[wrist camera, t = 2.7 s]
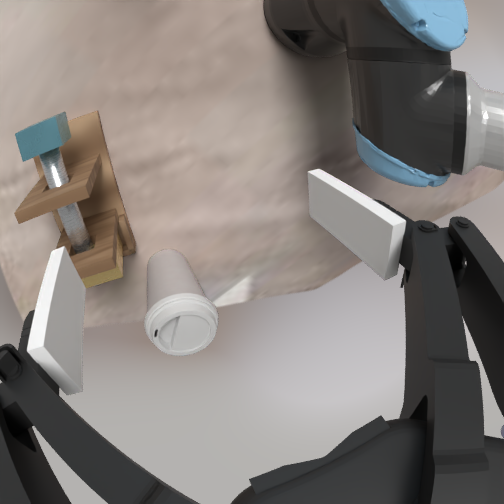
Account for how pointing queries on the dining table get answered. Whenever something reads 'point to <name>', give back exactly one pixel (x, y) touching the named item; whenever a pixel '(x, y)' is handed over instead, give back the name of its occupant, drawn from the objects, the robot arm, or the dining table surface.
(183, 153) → the dining table surface
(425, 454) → the robot arm
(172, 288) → the coffee cup
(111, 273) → the tan wooden piece
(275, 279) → the dining table surface
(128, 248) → the bracket
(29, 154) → the shaft
